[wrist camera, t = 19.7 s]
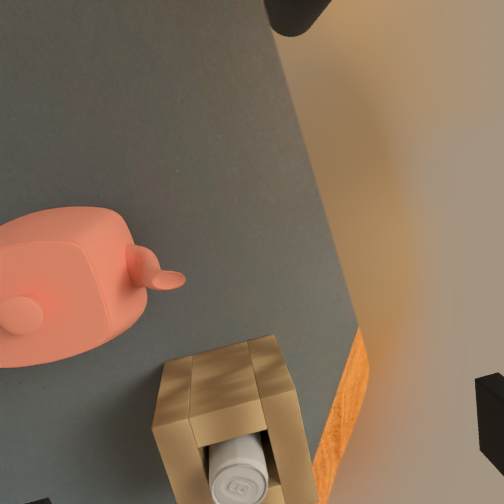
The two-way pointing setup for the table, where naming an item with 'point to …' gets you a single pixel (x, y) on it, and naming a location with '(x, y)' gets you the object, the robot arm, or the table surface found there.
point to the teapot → (71, 283)
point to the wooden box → (232, 419)
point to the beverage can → (238, 470)
